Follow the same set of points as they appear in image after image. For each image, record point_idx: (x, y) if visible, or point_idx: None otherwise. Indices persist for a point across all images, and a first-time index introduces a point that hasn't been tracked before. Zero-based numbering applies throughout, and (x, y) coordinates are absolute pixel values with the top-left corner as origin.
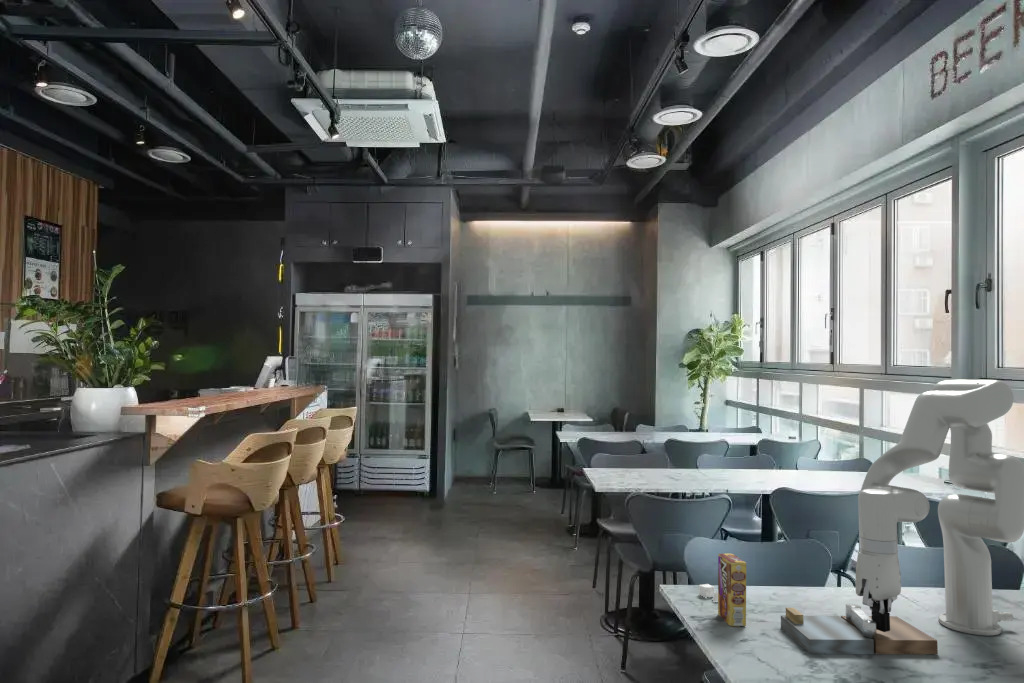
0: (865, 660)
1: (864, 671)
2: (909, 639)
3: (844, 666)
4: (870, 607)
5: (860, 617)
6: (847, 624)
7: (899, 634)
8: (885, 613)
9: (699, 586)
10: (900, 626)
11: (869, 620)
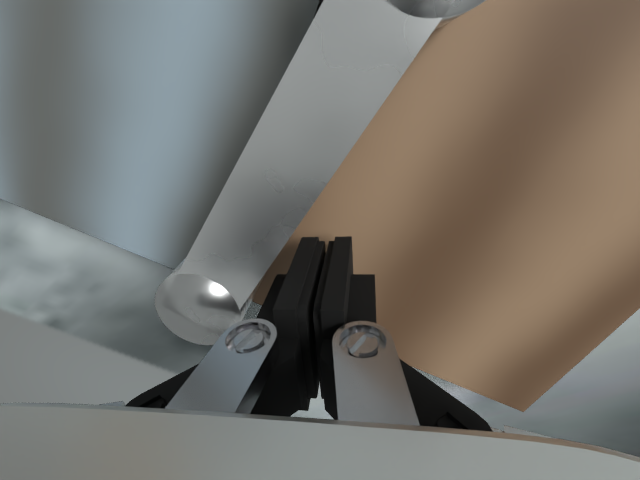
0: (160, 275)
1: (91, 325)
2: (407, 355)
3: (43, 275)
4: (191, 371)
5: (203, 226)
6: (275, 30)
7: (435, 300)
8: (302, 406)
9: None
10: (605, 227)
11: (216, 298)
